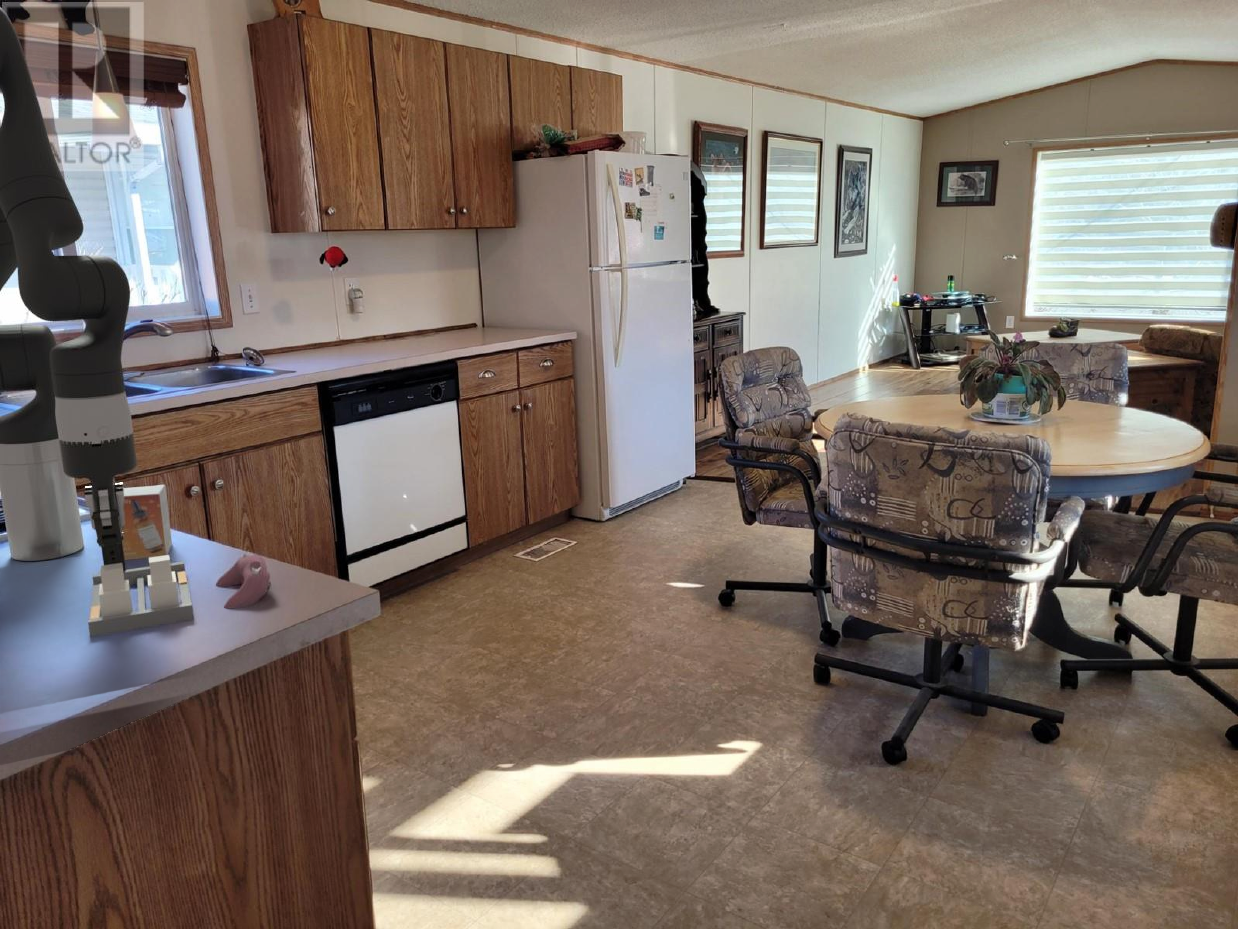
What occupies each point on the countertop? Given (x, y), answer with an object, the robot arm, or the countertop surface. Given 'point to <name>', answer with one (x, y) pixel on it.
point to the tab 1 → (114, 591)
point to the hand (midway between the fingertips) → (115, 572)
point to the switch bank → (140, 605)
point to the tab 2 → (162, 583)
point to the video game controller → (247, 580)
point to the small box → (146, 522)
